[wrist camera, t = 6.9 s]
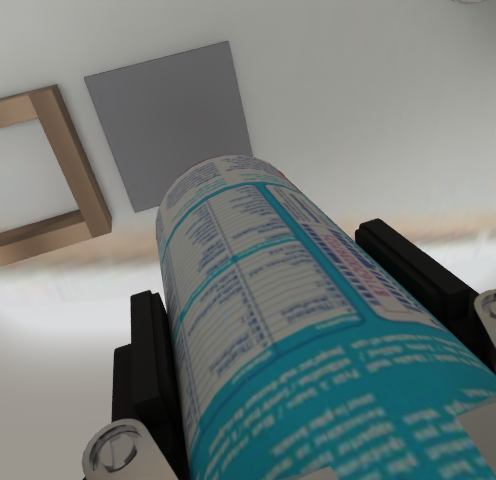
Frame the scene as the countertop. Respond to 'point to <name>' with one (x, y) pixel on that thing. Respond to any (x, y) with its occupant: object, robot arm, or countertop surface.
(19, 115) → the walnut socket block
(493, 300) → the robot arm
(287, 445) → the beverage can
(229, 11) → the countertop surface
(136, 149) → the charcoal rubber mat
